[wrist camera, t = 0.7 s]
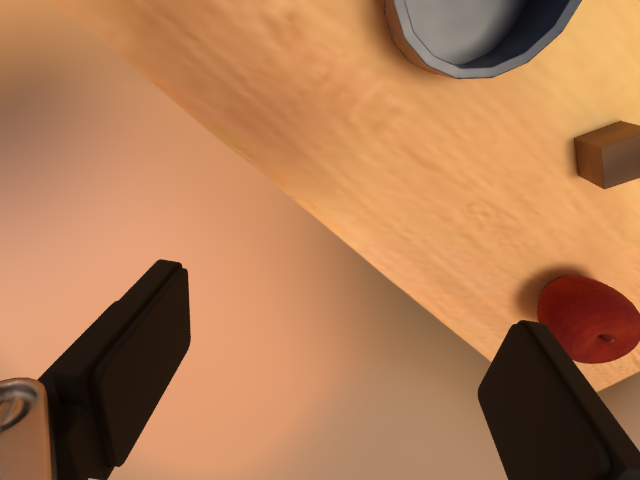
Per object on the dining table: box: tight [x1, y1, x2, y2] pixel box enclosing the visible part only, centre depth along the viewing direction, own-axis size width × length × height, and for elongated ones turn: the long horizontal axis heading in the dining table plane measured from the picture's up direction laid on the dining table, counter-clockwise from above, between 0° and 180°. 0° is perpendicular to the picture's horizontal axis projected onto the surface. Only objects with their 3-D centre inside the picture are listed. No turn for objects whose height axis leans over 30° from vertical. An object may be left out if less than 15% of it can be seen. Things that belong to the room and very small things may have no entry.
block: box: [574, 121, 640, 189], centre depth 35 cm, size 4×4×4 cm
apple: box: [537, 276, 640, 364], centre depth 42 cm, size 10×10×10 cm
